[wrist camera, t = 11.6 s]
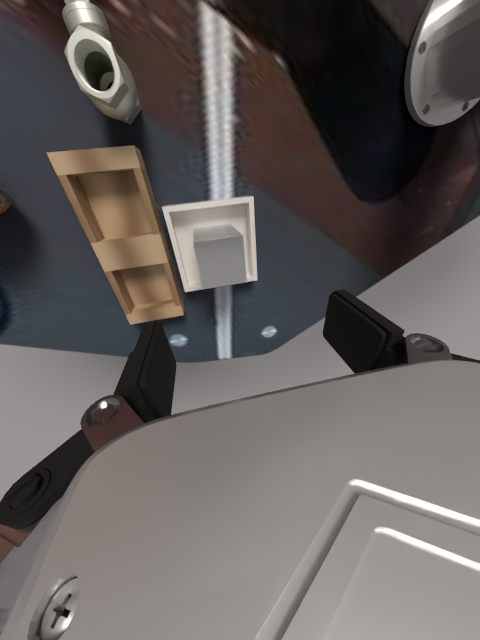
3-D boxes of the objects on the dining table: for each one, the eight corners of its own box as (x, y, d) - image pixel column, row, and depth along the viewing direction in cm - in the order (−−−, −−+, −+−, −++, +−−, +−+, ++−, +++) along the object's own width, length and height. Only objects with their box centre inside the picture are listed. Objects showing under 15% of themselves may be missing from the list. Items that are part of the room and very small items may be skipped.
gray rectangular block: (229, 223, 28) (243, 235, 20) (233, 259, 30) (246, 282, 23) (193, 228, 27) (193, 242, 20) (201, 264, 30) (203, 289, 22)
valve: (162, 120, 21) (95, -103, 15) (151, 97, 16) (37, -274, 9) (100, 134, 21) (3, -88, 14) (68, 115, 16) (-113, -256, 9)
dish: (248, 195, 27) (253, 196, 25) (253, 274, 33) (257, 280, 31) (164, 205, 25) (161, 207, 23) (185, 285, 32) (185, 292, 29)
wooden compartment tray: (140, 150, 22) (133, 145, 20) (184, 305, 33) (183, 315, 31) (63, 157, 21) (46, 152, 19) (135, 314, 33) (130, 324, 30)
